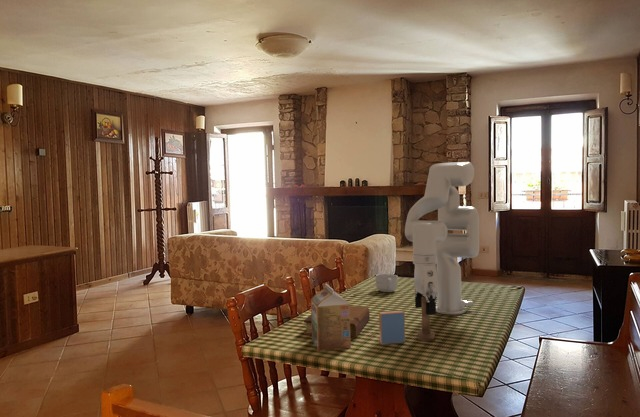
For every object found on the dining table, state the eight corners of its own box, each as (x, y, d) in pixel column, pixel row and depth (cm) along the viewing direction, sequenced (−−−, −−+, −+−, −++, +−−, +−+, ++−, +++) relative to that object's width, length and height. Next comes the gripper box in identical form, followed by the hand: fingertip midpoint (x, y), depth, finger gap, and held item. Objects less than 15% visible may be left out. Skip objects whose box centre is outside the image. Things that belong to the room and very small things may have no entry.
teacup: (376, 288, 236) (375, 273, 236) (397, 288, 235) (397, 273, 234) (375, 295, 222) (375, 278, 222) (398, 295, 221) (398, 278, 221)
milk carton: (350, 347, 149) (349, 288, 149) (318, 350, 147) (316, 291, 146) (342, 337, 160) (340, 282, 159) (311, 340, 158) (310, 284, 157)
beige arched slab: (356, 340, 158) (355, 323, 158) (304, 336, 164) (303, 320, 164) (369, 321, 180) (369, 306, 180) (323, 318, 186) (322, 304, 186)
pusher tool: (430, 335, 159) (430, 294, 159) (437, 340, 154) (436, 298, 153) (415, 336, 159) (414, 295, 158) (421, 341, 153) (420, 299, 152)
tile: (403, 340, 155) (402, 310, 155) (405, 342, 153) (404, 312, 152) (379, 342, 154) (379, 312, 153) (381, 344, 152) (380, 313, 151)
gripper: (446, 262, 147) (446, 316, 147) (425, 256, 164) (426, 304, 164) (423, 263, 146) (424, 318, 146) (405, 256, 163) (405, 305, 163)
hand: (425, 310), depth 155 cm, fingers open, 9 cm apart
